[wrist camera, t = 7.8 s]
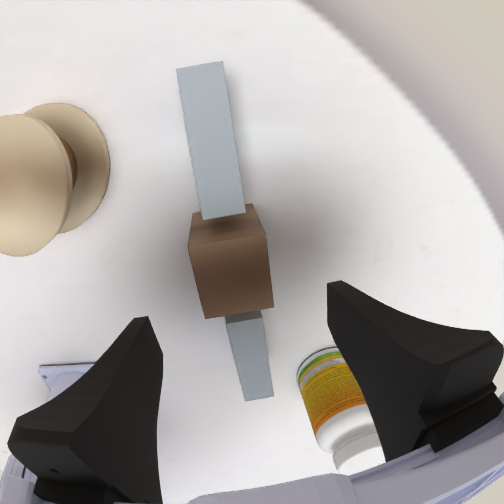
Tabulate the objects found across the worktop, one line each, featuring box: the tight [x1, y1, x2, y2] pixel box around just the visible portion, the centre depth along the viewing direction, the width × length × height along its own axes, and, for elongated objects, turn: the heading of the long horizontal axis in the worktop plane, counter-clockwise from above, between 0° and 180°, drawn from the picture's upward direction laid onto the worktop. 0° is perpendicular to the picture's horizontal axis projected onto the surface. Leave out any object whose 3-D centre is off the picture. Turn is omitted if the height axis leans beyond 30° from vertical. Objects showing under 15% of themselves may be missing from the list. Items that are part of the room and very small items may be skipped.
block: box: [188, 204, 274, 319], centre depth 17 cm, size 4×4×5 cm
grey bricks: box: [176, 61, 274, 401], centre depth 18 cm, size 20×2×4 cm, turn 8°
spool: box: [0, 104, 110, 257], centre depth 13 cm, size 8×8×5 cm
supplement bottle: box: [297, 348, 385, 475], centre depth 21 cm, size 5×5×10 cm
